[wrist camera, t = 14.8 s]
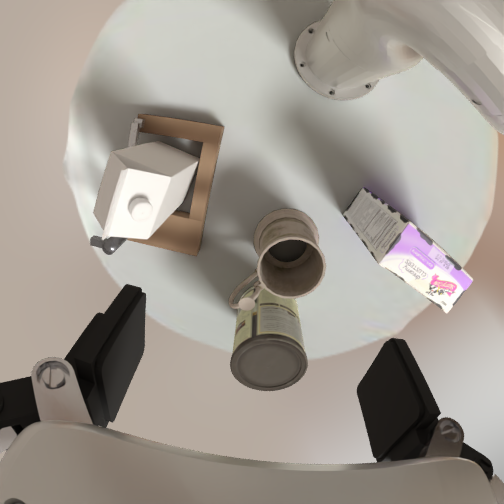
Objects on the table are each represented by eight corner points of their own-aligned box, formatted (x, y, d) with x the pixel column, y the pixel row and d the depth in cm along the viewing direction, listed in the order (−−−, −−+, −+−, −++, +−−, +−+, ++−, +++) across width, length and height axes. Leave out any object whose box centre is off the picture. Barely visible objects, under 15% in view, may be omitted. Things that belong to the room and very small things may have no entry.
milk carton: (142, 183, 43) (73, 225, 25) (158, 140, 40) (90, 156, 23) (183, 202, 44) (134, 255, 26) (202, 159, 41) (158, 186, 24)
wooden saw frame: (144, 114, 38) (138, 114, 36) (224, 126, 39) (222, 126, 37) (129, 233, 46) (123, 238, 44) (199, 249, 47) (196, 256, 45)
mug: (297, 196, 43) (309, 222, 32) (329, 249, 46) (348, 288, 35) (216, 246, 47) (202, 285, 36) (252, 292, 50) (248, 340, 39)
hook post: (116, 216, 42) (88, 236, 35) (138, 221, 43) (114, 243, 35) (115, 227, 43) (88, 249, 35) (137, 232, 43) (113, 256, 36)
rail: (144, 118, 39) (131, 118, 35) (151, 119, 39) (139, 119, 35) (130, 218, 45) (118, 228, 41) (137, 220, 45) (125, 230, 41)
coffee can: (292, 334, 53) (298, 393, 40) (235, 328, 53) (227, 387, 40) (304, 286, 49) (316, 342, 36) (241, 278, 49) (233, 334, 36)
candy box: (421, 233, 44) (476, 280, 29) (401, 260, 46) (447, 316, 31) (362, 184, 42) (411, 219, 27) (340, 216, 44) (377, 265, 29)
